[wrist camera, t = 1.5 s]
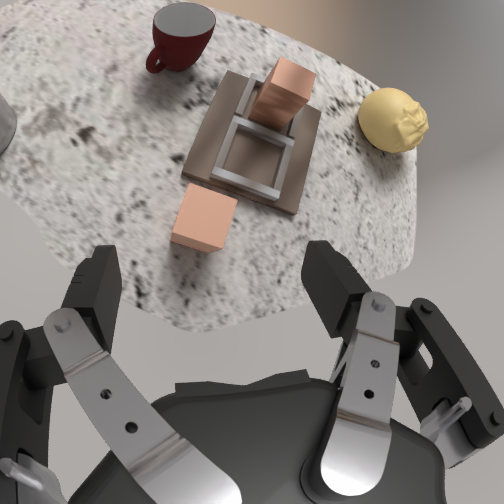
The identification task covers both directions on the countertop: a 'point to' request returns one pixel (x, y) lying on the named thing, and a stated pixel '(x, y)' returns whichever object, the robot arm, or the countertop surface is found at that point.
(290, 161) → the wooden block stand
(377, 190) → the countertop surface
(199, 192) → the pillar
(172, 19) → the mug
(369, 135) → the sculpture
